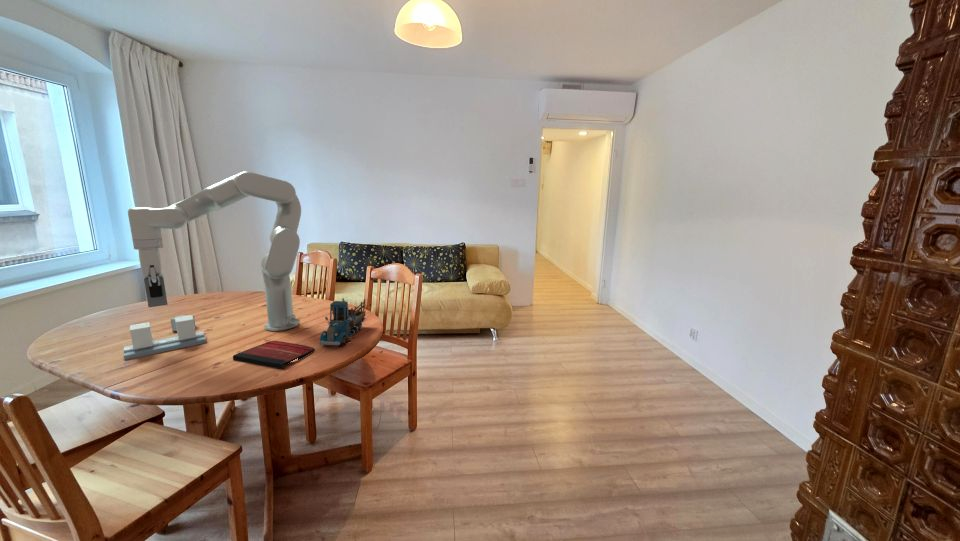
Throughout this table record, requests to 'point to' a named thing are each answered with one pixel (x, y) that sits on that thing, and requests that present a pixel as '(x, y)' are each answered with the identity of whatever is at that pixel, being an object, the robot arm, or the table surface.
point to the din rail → (163, 342)
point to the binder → (273, 354)
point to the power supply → (175, 322)
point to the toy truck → (342, 323)
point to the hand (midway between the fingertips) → (156, 294)
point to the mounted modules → (144, 336)
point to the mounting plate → (163, 347)
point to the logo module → (156, 300)
